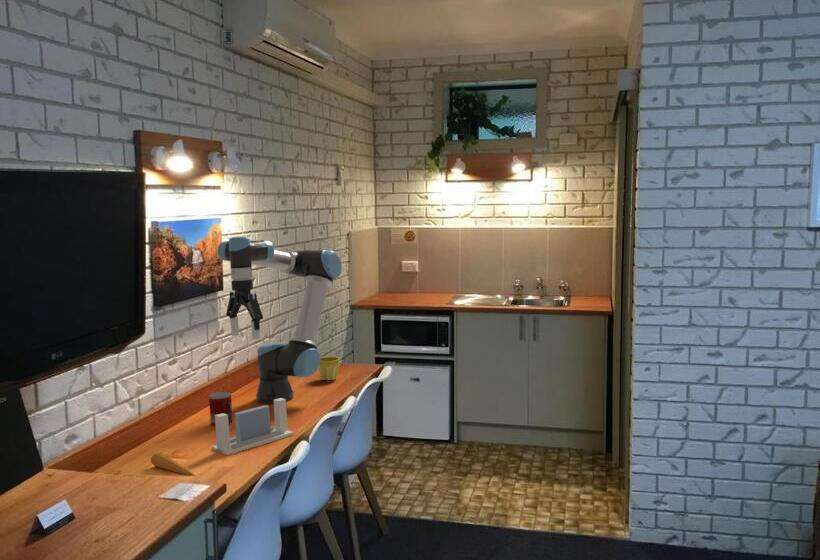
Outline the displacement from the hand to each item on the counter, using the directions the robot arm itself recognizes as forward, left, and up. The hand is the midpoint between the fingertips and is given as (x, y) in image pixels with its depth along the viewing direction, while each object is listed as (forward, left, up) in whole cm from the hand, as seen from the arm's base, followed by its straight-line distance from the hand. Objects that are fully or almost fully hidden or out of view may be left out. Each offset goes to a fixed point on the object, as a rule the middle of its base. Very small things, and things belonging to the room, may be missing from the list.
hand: (245, 337), depth 264 cm
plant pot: (-60, -27, -32) cm, 73 cm away
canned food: (+8, -7, -32) cm, 34 cm away
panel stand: (+13, +21, -32) cm, 40 cm away
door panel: (+13, +21, -31) cm, 39 cm away
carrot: (+44, +25, -32) cm, 60 cm away
